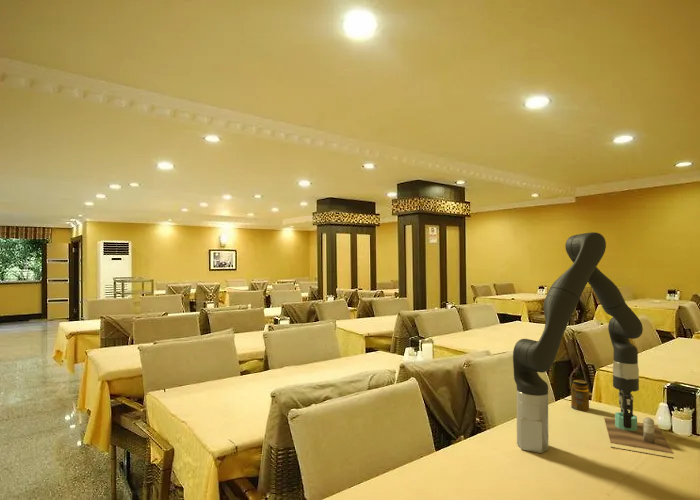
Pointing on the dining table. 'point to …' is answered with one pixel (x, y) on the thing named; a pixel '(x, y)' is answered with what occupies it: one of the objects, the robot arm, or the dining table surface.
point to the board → (639, 437)
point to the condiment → (580, 395)
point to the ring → (620, 422)
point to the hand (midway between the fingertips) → (626, 423)
